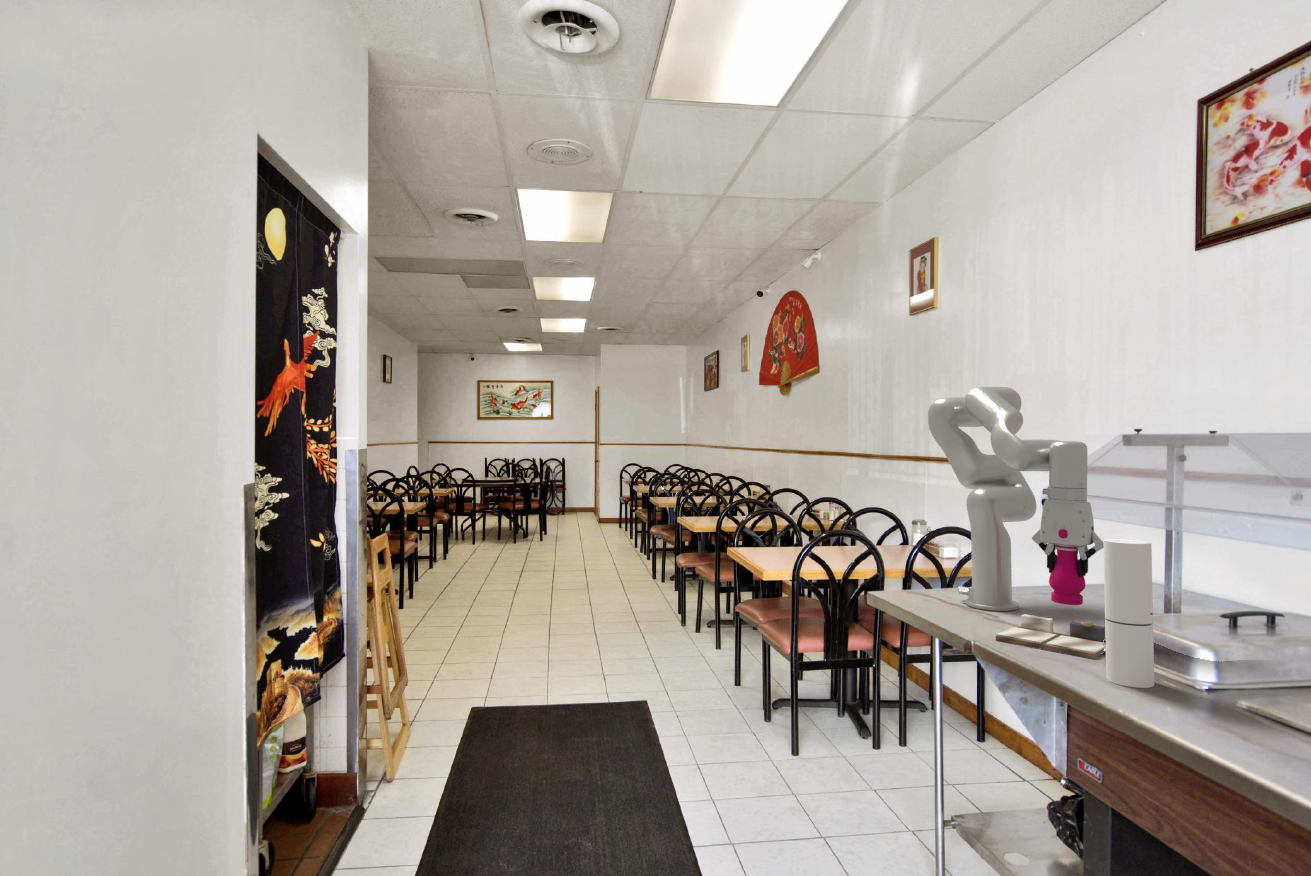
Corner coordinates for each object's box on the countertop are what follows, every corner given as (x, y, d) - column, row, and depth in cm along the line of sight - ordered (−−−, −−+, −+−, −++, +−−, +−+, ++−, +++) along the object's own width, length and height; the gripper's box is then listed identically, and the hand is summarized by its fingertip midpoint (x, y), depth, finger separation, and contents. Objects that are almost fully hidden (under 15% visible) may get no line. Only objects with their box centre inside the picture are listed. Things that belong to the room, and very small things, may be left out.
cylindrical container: (1158, 681, 125) (1155, 541, 126) (1148, 690, 120) (1145, 544, 121) (1112, 672, 130) (1109, 537, 131) (1101, 680, 125) (1098, 541, 126)
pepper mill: (1092, 605, 157) (1093, 516, 157) (1059, 605, 157) (1060, 516, 157) (1073, 597, 164) (1074, 512, 164) (1042, 597, 164) (1043, 512, 164)
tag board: (995, 640, 152) (995, 620, 153) (1018, 630, 161) (1017, 611, 161) (1094, 659, 138) (1094, 636, 138) (1113, 647, 146) (1113, 626, 146)
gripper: (1021, 493, 164) (1021, 570, 164) (1105, 499, 151) (1104, 582, 152) (1034, 491, 169) (1033, 566, 169) (1116, 496, 156) (1115, 577, 157)
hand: (1067, 573), depth 160 cm, fingers closed on pepper mill, 5 cm apart
